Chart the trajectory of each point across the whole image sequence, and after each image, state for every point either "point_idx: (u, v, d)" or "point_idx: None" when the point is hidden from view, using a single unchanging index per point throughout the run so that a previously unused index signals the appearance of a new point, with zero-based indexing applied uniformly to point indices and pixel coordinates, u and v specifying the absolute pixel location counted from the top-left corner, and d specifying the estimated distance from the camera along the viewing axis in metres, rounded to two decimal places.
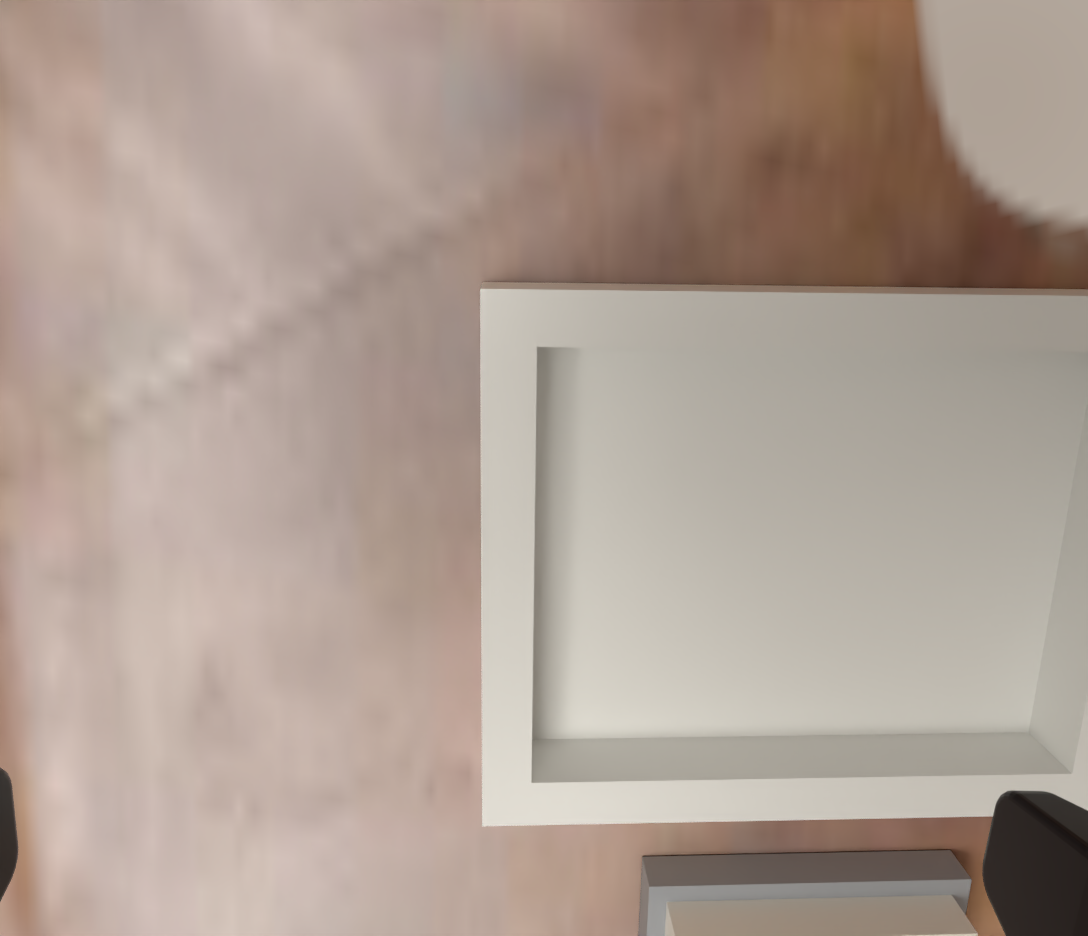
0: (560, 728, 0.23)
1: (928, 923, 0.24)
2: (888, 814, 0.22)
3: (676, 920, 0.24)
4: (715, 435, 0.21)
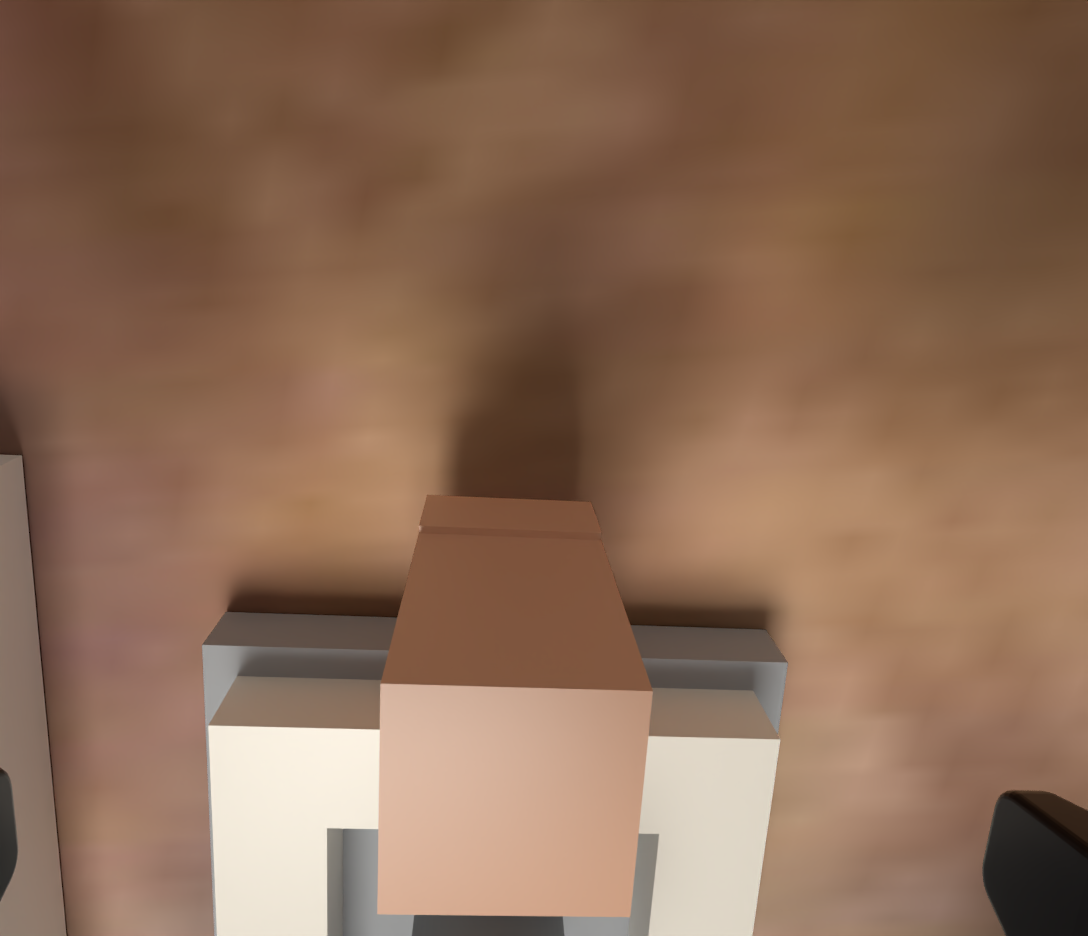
0: None
1: None
2: None
3: None
4: None
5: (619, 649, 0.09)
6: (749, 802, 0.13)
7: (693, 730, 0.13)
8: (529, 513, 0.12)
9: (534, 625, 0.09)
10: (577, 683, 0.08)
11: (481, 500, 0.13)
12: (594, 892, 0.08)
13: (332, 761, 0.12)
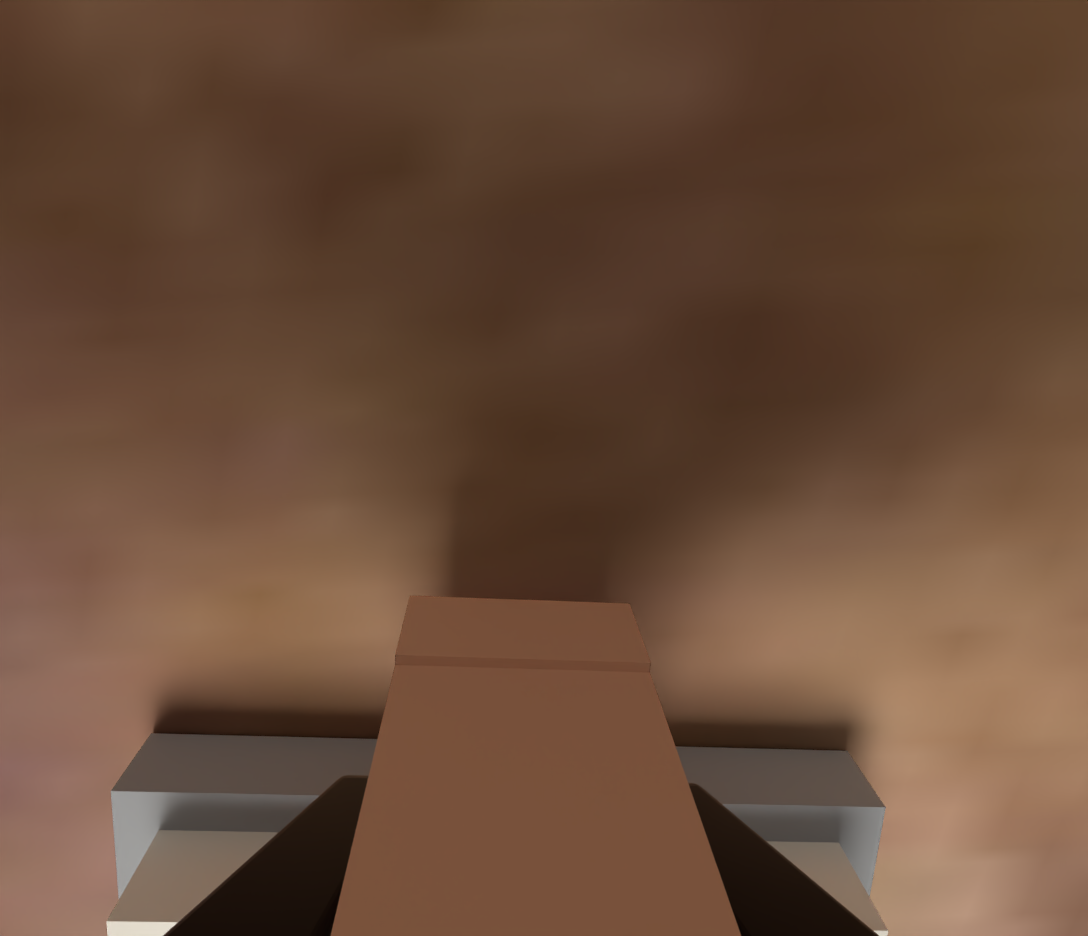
0: None
1: None
2: None
3: None
4: None
5: (706, 925, 0.05)
6: None
7: None
8: (548, 627, 0.09)
9: (565, 865, 0.06)
10: None
11: (481, 604, 0.10)
12: None
13: None
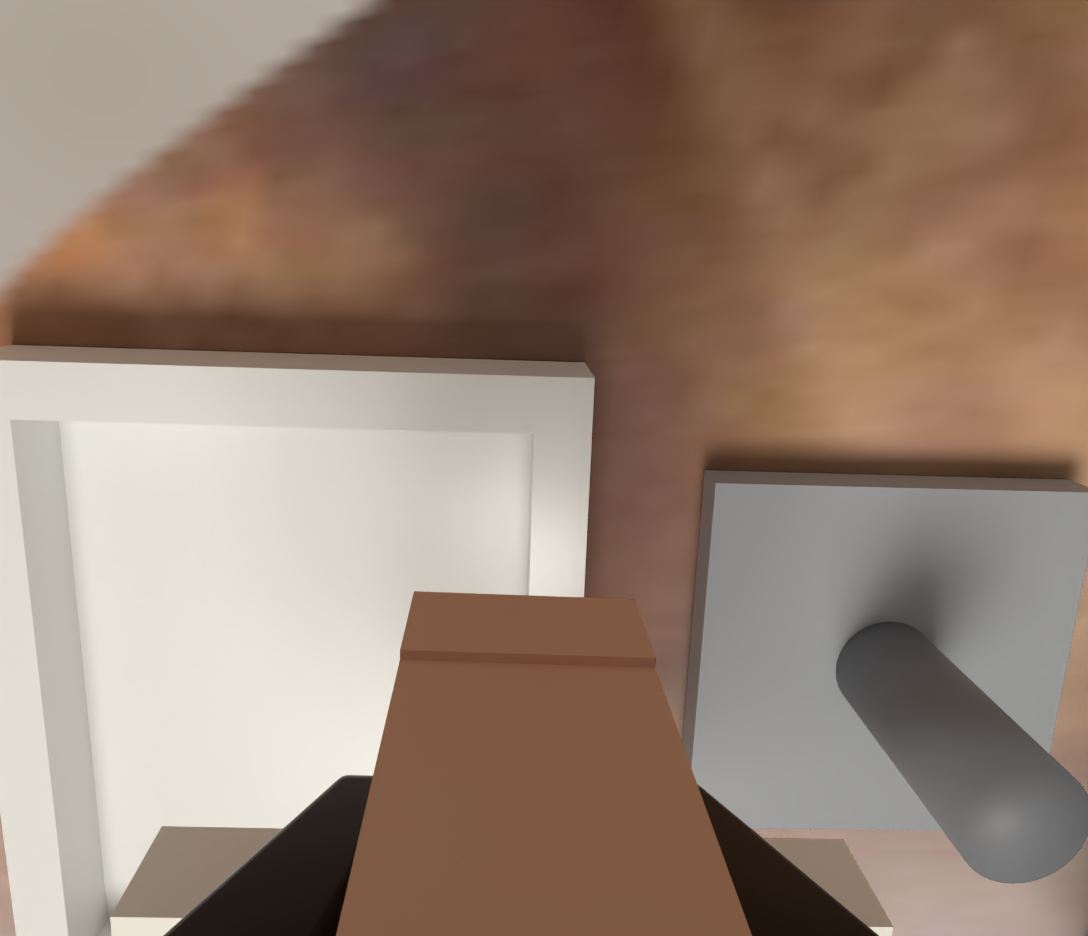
0: None
1: None
2: None
3: None
4: (189, 769, 0.22)
5: (714, 918, 0.05)
6: None
7: None
8: (553, 622, 0.09)
9: (573, 861, 0.06)
10: None
11: (486, 598, 0.09)
12: None
13: None
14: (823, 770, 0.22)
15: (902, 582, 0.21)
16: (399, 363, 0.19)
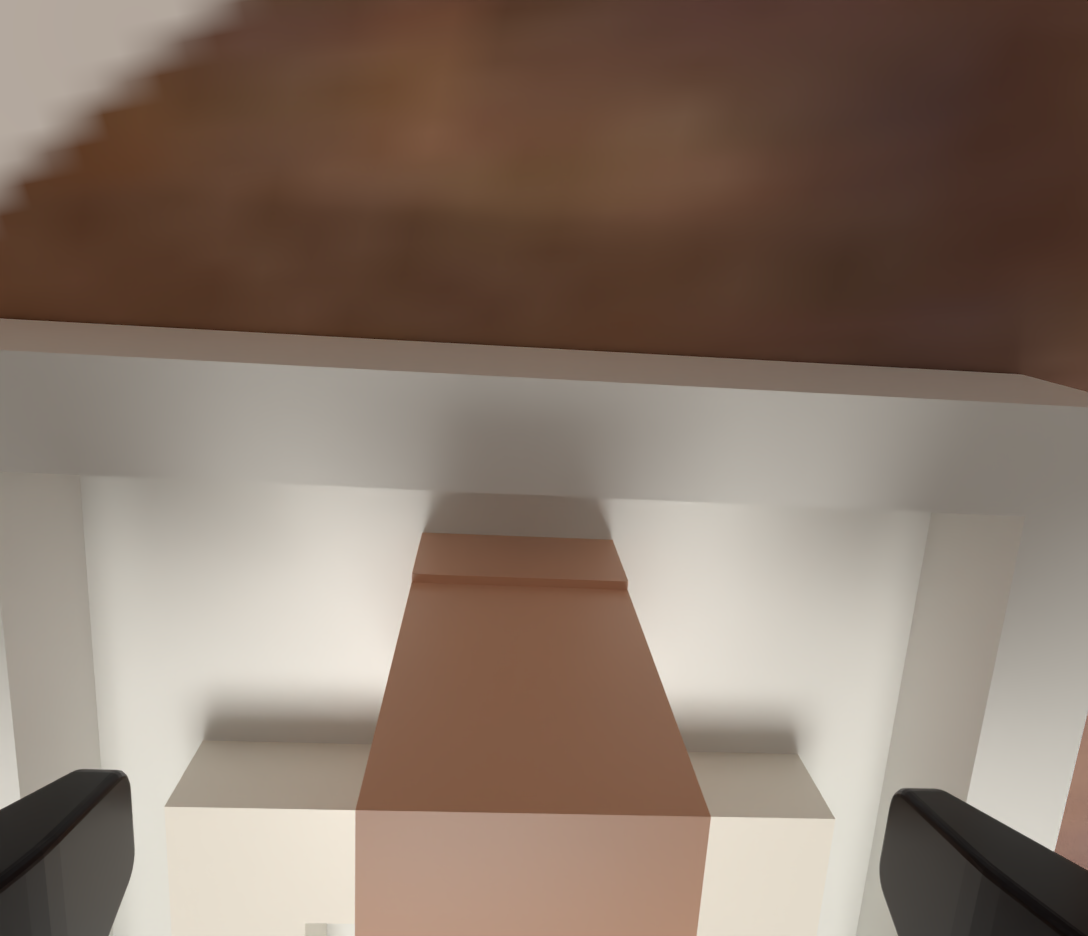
0: None
1: None
2: None
3: None
4: None
5: (662, 749, 0.07)
6: (798, 891, 0.11)
7: (733, 807, 0.11)
8: (541, 555, 0.11)
9: (553, 712, 0.07)
10: (613, 804, 0.06)
11: (485, 538, 0.11)
12: None
13: (310, 847, 0.11)
14: None
15: None
16: (734, 370, 0.10)
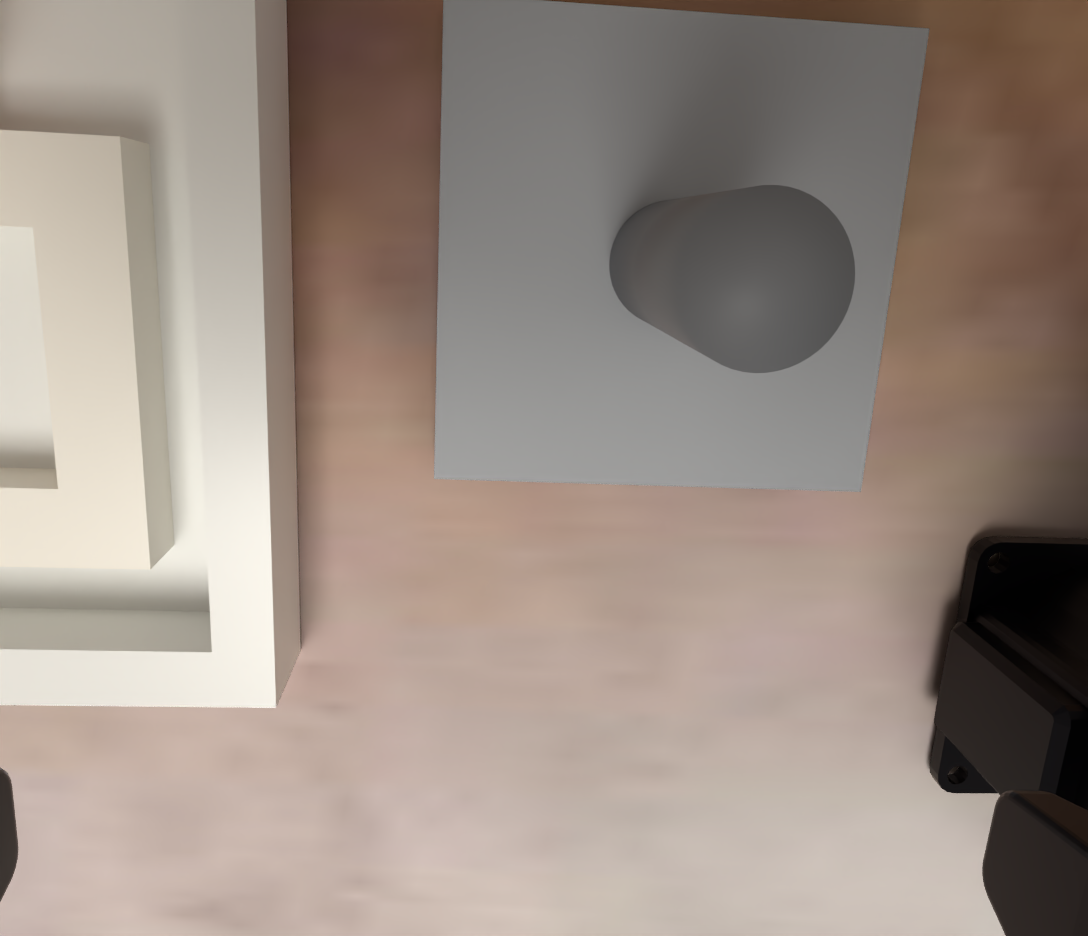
0: None
1: None
2: (253, 173, 0.15)
3: None
4: None
5: None
6: (105, 198, 0.16)
7: None
8: None
9: None
10: None
11: None
12: None
13: None
14: (600, 403, 0.18)
15: (687, 145, 0.17)
16: None
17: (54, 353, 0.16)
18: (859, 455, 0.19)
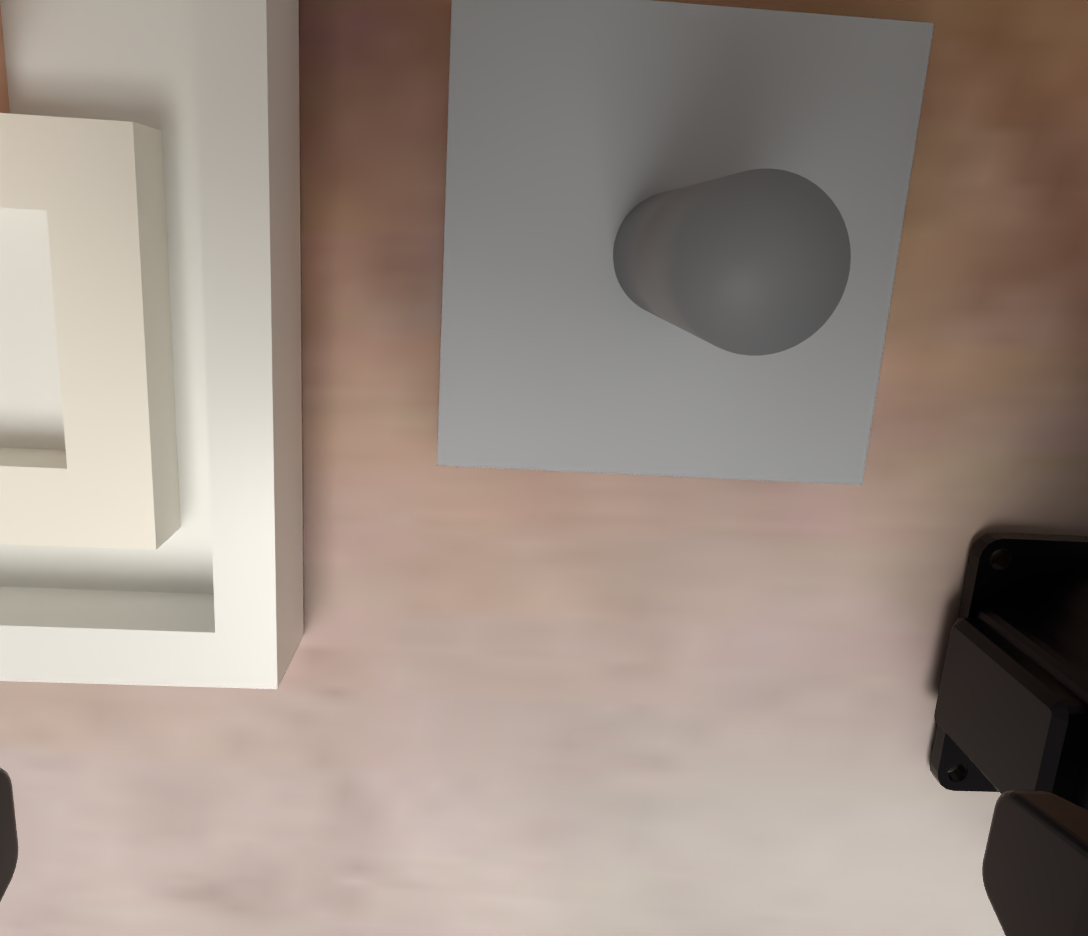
0: None
1: None
2: (262, 158, 0.15)
3: None
4: None
5: None
6: (117, 182, 0.16)
7: None
8: None
9: None
10: None
11: None
12: None
13: None
14: (602, 392, 0.18)
15: (691, 137, 0.17)
16: None
17: (65, 334, 0.16)
18: (861, 448, 0.19)
